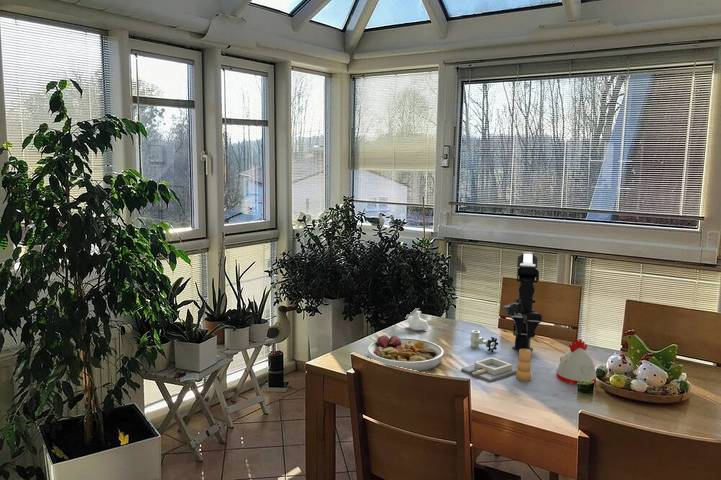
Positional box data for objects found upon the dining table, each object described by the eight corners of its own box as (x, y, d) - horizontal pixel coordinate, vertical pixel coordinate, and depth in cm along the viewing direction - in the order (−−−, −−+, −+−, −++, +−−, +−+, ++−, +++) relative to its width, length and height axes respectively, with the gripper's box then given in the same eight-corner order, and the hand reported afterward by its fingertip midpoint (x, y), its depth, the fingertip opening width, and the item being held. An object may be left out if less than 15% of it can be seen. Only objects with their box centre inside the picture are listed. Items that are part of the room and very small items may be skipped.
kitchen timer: (548, 374, 228) (551, 336, 226) (577, 369, 233) (579, 332, 231) (575, 387, 215) (578, 347, 213) (604, 382, 221) (607, 343, 219)
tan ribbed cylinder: (522, 375, 226) (523, 347, 225) (533, 379, 222) (535, 350, 221) (513, 378, 223) (514, 349, 222) (524, 382, 219) (526, 353, 218)
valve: (466, 346, 260) (487, 354, 250) (466, 331, 259) (488, 338, 249) (476, 343, 264) (498, 351, 254) (477, 329, 263) (498, 336, 253)
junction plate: (495, 360, 242) (496, 353, 242) (524, 370, 231) (524, 363, 231) (458, 371, 229) (458, 364, 229) (487, 383, 218) (487, 375, 218)
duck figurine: (406, 331, 287) (397, 315, 281) (415, 319, 291) (406, 304, 285) (426, 337, 279) (417, 321, 273) (434, 325, 282) (425, 309, 276)
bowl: (457, 361, 241) (458, 342, 240) (411, 381, 219) (412, 360, 218) (399, 344, 261) (400, 327, 260) (352, 361, 240) (352, 342, 238)
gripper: (497, 294, 243) (495, 332, 242) (516, 297, 224) (513, 339, 224) (523, 295, 244) (521, 334, 244) (544, 299, 226) (541, 340, 226)
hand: (523, 336), depth 234 cm, fingers open, 9 cm apart
